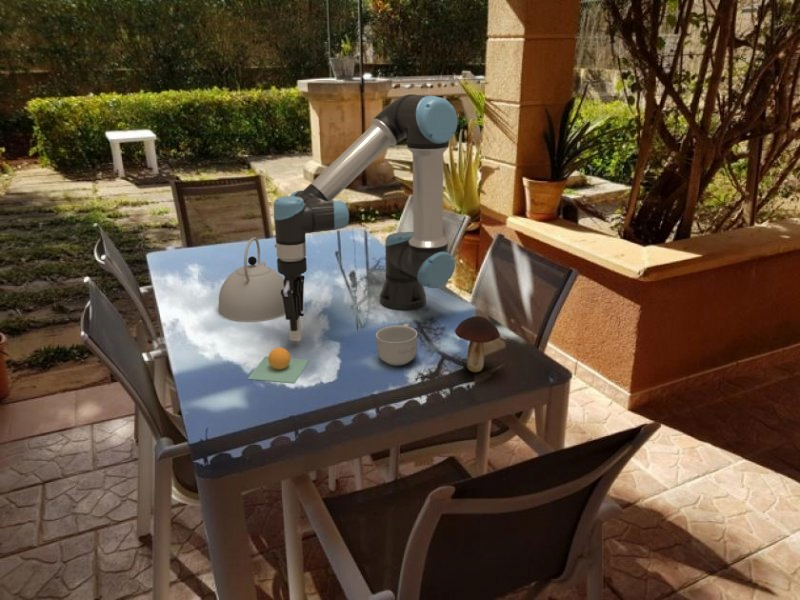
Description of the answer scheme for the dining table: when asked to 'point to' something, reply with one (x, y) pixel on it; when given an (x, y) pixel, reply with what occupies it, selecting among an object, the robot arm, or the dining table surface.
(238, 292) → the kettle
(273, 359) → the ball
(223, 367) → the dining table surface
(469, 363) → the decorative mushroom
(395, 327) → the teacup
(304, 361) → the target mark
